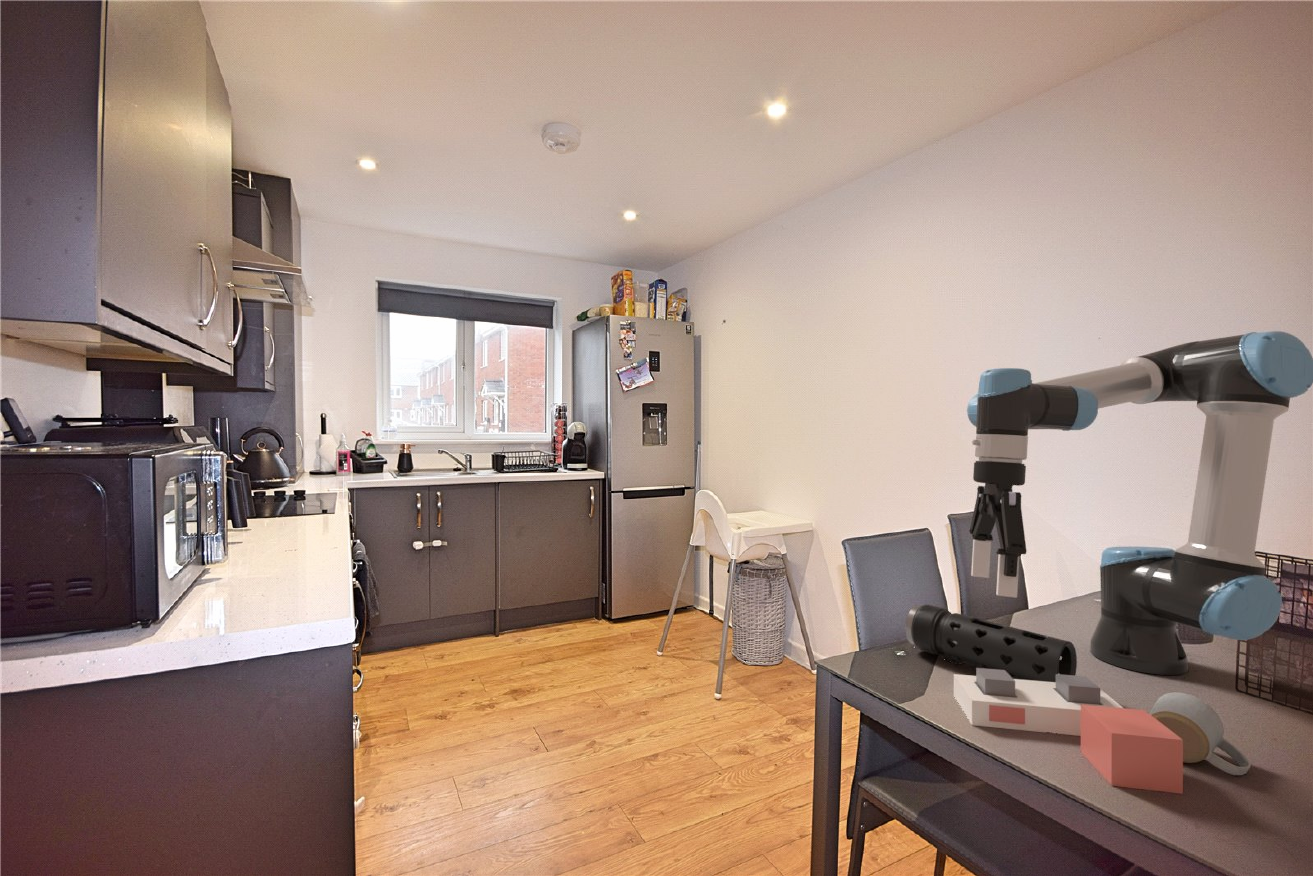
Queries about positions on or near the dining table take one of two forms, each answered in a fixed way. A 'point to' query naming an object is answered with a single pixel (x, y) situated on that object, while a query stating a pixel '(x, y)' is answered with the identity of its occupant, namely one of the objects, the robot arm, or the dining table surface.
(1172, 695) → the ceramic mug
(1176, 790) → the salmon red cube
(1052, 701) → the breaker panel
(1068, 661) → the muzzle brake
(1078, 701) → the button plain
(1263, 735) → the dining table surface
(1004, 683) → the button tagged
